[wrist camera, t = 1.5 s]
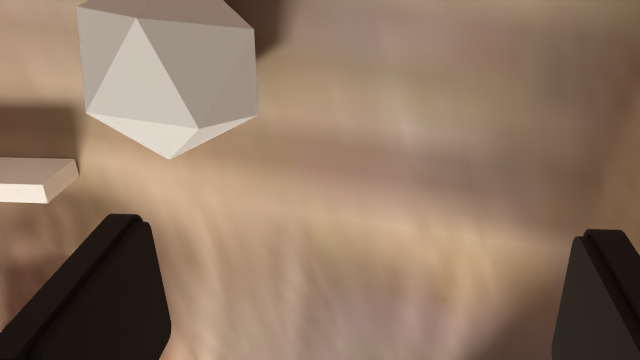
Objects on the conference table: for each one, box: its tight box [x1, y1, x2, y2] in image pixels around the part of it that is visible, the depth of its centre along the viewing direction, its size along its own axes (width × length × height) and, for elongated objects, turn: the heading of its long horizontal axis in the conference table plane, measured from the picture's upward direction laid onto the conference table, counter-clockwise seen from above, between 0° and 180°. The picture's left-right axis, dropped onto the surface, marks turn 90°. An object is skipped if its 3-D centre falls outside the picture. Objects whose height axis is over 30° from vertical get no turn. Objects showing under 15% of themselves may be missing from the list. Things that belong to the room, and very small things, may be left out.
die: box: [77, 0, 258, 160], centre depth 26 cm, size 8×9×10 cm
